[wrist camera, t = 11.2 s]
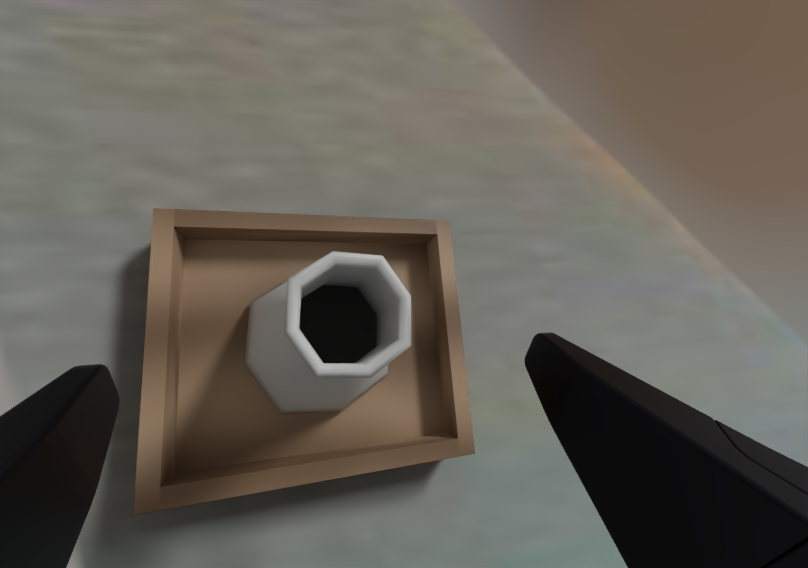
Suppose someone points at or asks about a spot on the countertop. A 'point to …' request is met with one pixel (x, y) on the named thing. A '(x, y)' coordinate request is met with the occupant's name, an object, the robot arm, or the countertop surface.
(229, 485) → the wooden tray
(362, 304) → the flask
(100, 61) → the countertop surface
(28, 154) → the countertop surface
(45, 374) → the countertop surface
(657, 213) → the countertop surface
